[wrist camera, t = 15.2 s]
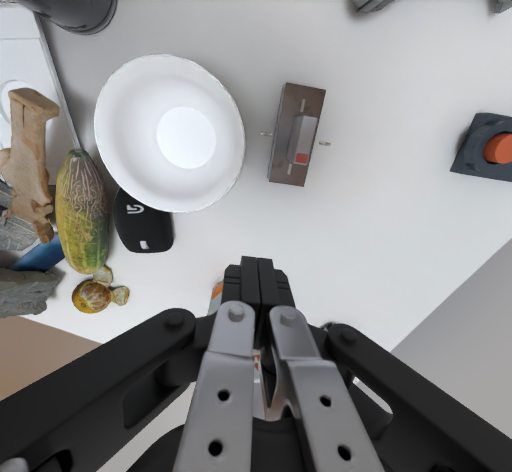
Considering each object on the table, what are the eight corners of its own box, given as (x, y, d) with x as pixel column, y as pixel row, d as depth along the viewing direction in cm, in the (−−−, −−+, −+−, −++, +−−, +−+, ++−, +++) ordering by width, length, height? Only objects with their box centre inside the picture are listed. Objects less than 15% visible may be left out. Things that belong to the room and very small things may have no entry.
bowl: (192, 39, 30) (174, 10, 22) (267, 152, 36) (274, 159, 28) (102, 124, 33) (59, 124, 26) (183, 215, 39) (168, 237, 31)
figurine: (25, 76, 27) (29, 208, 39) (-21, 75, 24) (-1, 220, 35) (82, 117, 27) (69, 236, 39) (45, 121, 24) (43, 250, 36)
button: (492, 131, 33) (504, 131, 31) (516, 135, 33) (530, 136, 31) (478, 159, 34) (489, 161, 32) (501, 163, 34) (514, 165, 33)
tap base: (267, 82, 32) (269, 78, 30) (334, 95, 33) (343, 92, 31) (253, 175, 37) (254, 179, 34) (312, 184, 38) (318, 189, 35)
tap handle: (294, 116, 31) (303, 115, 26) (306, 118, 32) (318, 117, 26) (285, 157, 33) (293, 163, 28) (297, 159, 34) (307, 165, 28)
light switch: (-59, 10, 28) (19, 183, 36) (-80, 3, 26) (8, 187, 35) (42, 10, 29) (95, 179, 37) (29, 3, 27) (88, 183, 35)
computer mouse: (164, 175, 37) (156, 181, 33) (177, 248, 42) (171, 260, 38) (112, 177, 36) (98, 183, 33) (130, 250, 41) (120, 263, 38)
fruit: (135, 297, 45) (126, 310, 42) (98, 314, 46) (86, 329, 43) (104, 261, 42) (92, 273, 39) (65, 281, 43) (50, 294, 40)
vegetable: (52, 273, 38) (27, 142, 27) (82, 249, 43) (71, 132, 32) (92, 286, 38) (83, 162, 27) (117, 261, 43) (118, 148, 32)
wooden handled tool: (48, 228, 37) (77, 252, 39) (61, 221, 40) (87, 244, 42) (-58, 312, 40) (-27, 330, 42) (-40, 300, 43) (-11, 317, 45)
